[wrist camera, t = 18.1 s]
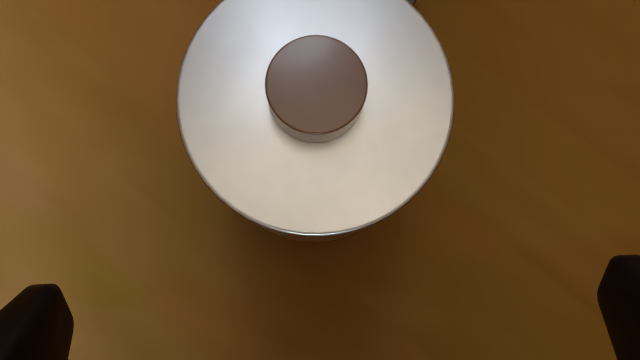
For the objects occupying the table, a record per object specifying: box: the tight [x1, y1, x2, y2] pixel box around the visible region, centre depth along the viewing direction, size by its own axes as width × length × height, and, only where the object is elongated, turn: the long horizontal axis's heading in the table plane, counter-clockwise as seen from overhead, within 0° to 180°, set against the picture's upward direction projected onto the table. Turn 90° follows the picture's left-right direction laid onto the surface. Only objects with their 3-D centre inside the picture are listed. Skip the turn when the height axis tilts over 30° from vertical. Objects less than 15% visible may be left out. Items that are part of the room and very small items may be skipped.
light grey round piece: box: [176, 0, 454, 242], centre depth 17 cm, size 7×7×7 cm
